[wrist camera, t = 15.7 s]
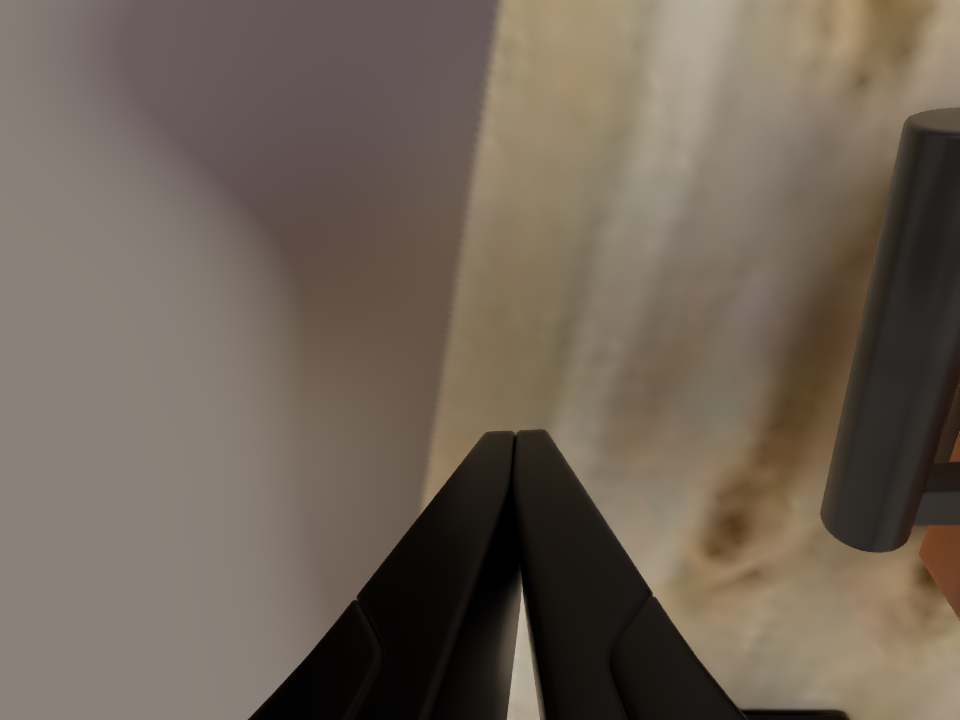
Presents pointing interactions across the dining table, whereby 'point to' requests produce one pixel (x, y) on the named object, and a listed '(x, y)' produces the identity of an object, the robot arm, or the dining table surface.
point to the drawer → (907, 367)
